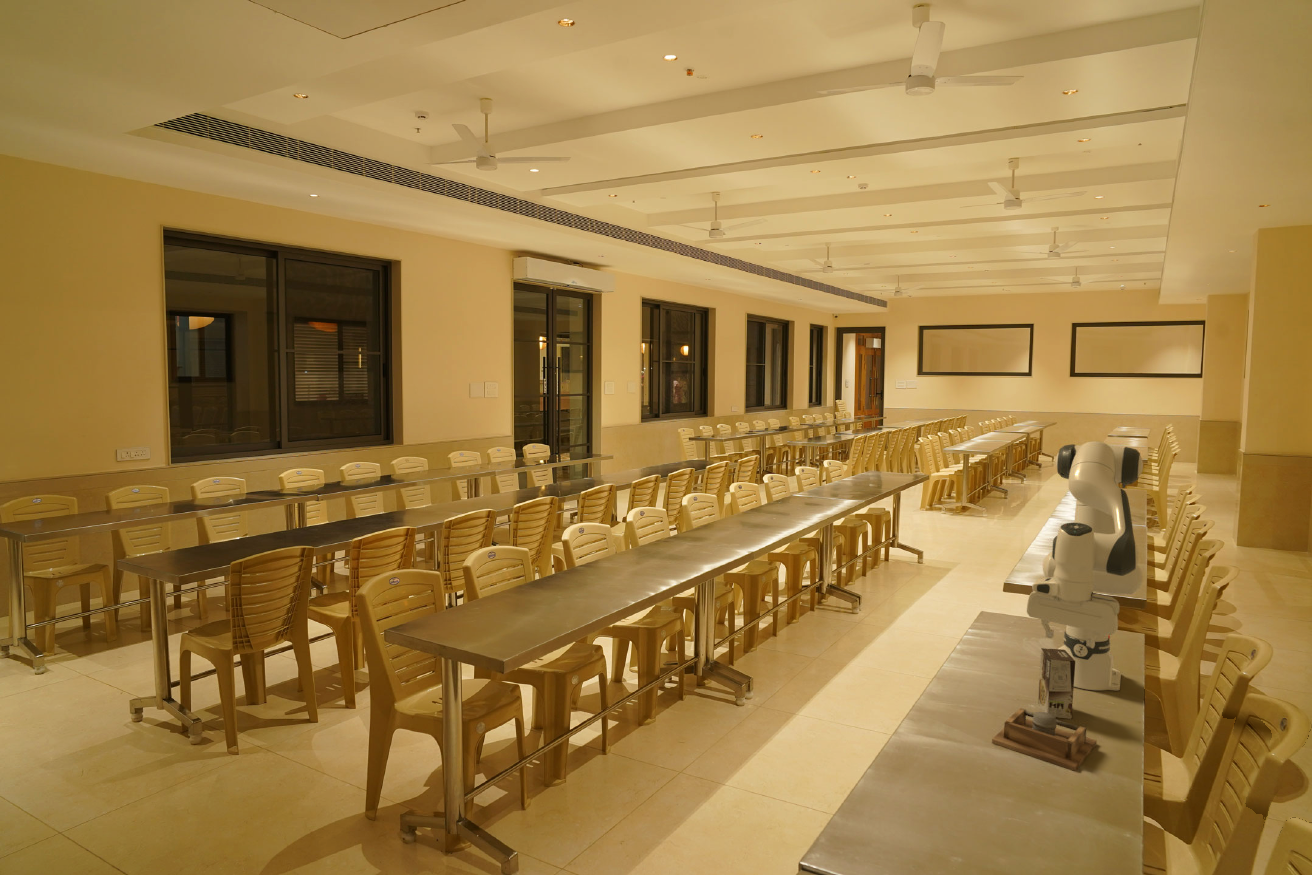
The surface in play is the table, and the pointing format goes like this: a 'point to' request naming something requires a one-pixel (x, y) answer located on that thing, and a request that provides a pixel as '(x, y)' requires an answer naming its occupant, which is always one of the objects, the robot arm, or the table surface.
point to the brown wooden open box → (1045, 741)
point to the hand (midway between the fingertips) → (1069, 641)
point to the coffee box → (1056, 682)
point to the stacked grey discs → (1044, 723)
